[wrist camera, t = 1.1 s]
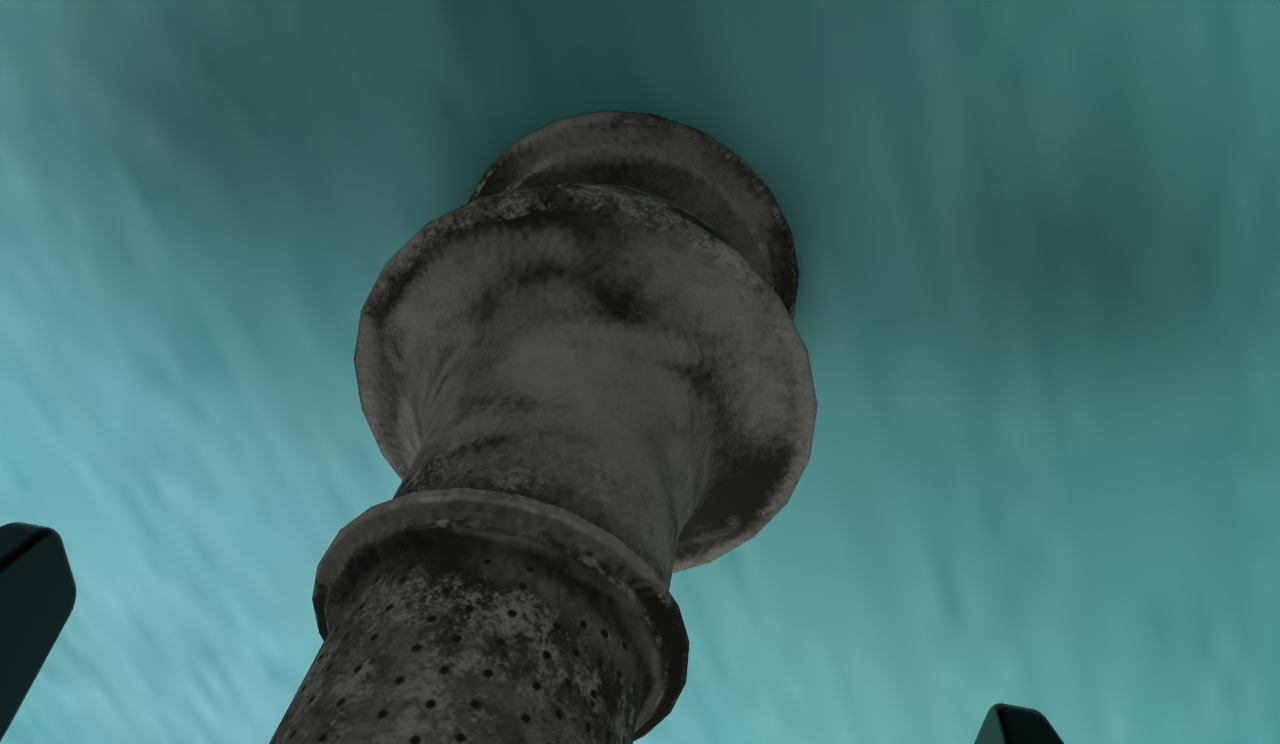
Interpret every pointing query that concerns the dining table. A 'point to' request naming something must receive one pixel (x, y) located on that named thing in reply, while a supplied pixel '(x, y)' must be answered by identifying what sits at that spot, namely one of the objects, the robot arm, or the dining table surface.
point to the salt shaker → (560, 442)
